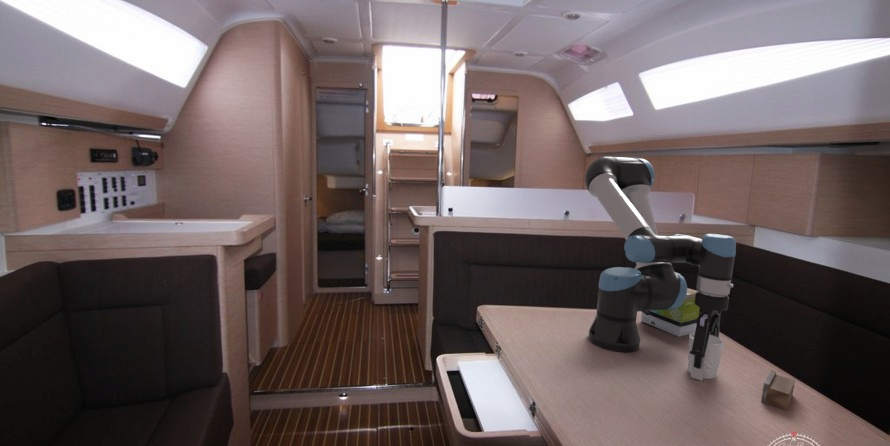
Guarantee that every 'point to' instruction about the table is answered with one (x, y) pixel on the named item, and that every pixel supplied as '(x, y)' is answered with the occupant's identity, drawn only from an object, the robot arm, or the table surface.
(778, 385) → the block
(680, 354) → the table surface
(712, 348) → the white cup
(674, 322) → the tea box
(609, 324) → the robot arm
